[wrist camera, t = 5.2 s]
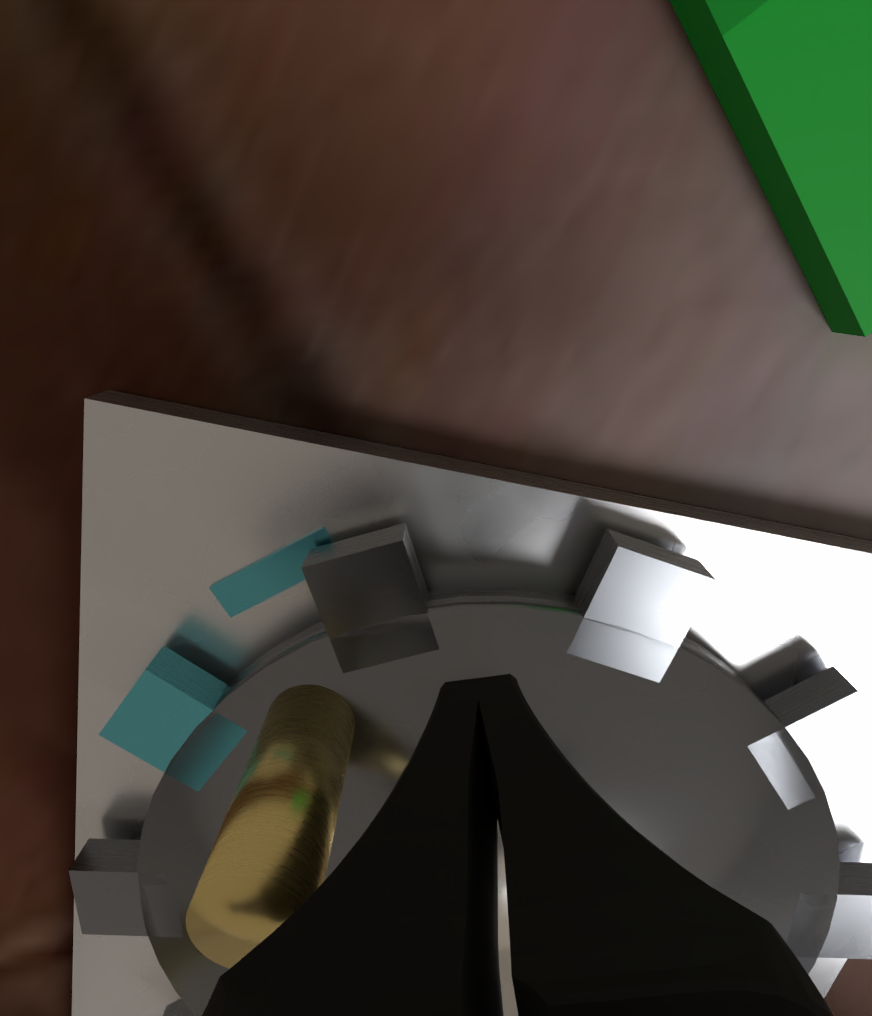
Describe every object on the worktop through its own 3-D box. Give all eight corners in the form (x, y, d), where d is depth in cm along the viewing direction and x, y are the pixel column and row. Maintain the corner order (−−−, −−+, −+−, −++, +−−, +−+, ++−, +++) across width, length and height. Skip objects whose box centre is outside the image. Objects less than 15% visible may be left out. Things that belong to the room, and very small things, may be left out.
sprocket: (643, 329, 12) (799, 371, 7) (997, 956, 17) (1240, 1255, 12) (-74, 801, 15) (-329, 1060, 10) (390, 1196, 20) (373, 1501, 15)
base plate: (1021, 570, 14) (1065, 593, 13) (715, 1124, 21) (729, 1168, 20) (109, 389, 13) (81, 398, 12) (88, 1033, 20) (68, 1074, 19)
